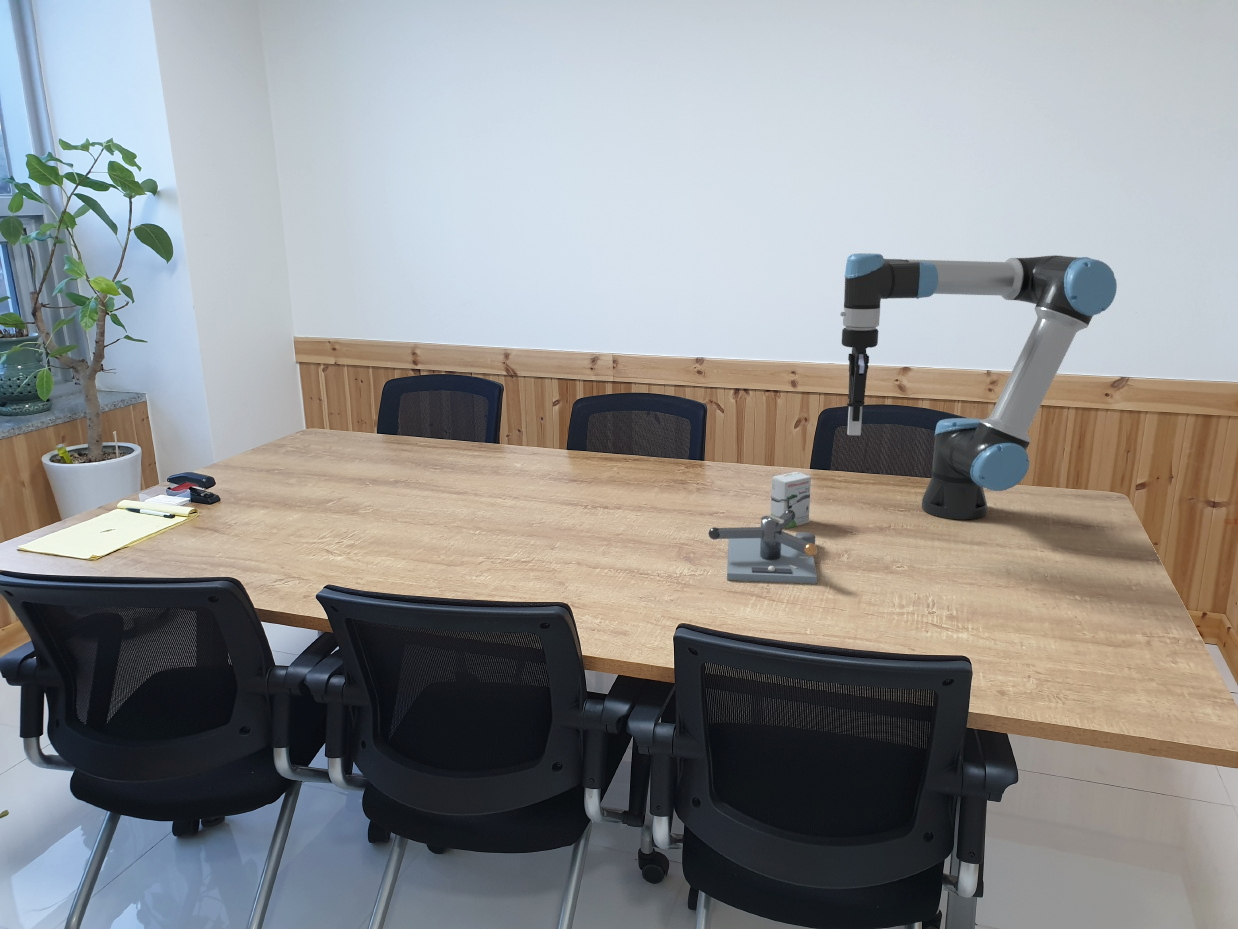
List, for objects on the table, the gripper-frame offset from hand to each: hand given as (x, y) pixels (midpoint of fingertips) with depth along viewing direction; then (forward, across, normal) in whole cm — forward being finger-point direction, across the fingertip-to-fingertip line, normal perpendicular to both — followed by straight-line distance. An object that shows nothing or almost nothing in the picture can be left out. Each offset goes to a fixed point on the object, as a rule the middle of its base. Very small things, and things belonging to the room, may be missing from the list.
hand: (853, 434), depth 201 cm
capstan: (+23, +19, -16) cm, 34 cm away
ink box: (+25, -9, -13) cm, 29 cm away
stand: (+24, +16, -18) cm, 34 cm away
